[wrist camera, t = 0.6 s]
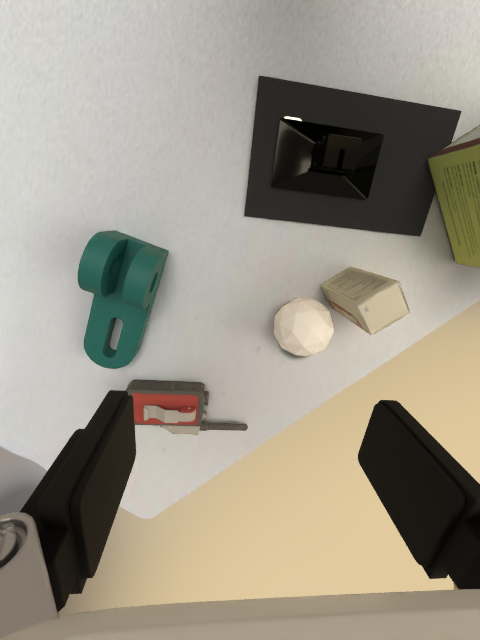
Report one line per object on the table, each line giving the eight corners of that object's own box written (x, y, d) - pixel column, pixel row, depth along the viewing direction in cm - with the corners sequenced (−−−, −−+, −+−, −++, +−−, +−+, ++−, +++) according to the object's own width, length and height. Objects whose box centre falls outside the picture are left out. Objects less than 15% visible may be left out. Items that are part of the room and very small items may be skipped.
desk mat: (258, 76, 28) (259, 75, 28) (459, 112, 31) (461, 110, 31) (244, 215, 33) (244, 215, 33) (419, 235, 36) (420, 236, 35)
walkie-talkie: (125, 423, 43) (246, 426, 45) (115, 444, 39) (248, 447, 41) (122, 377, 40) (252, 383, 42) (111, 395, 36) (255, 400, 38)
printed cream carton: (332, 309, 38) (368, 337, 29) (319, 284, 37) (354, 306, 28) (364, 290, 38) (412, 313, 28) (352, 264, 36) (399, 279, 27)
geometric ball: (277, 313, 41) (253, 319, 34) (322, 286, 37) (305, 286, 30) (301, 357, 40) (281, 372, 33) (350, 333, 36) (339, 345, 29)
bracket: (115, 230, 32) (85, 233, 25) (168, 251, 34) (155, 259, 26) (87, 352, 38) (55, 384, 31) (134, 366, 39) (114, 399, 32)
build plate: (270, 187, 32) (278, 182, 28) (280, 115, 29) (290, 97, 25) (366, 200, 33) (388, 197, 29) (383, 132, 31) (410, 117, 26)
